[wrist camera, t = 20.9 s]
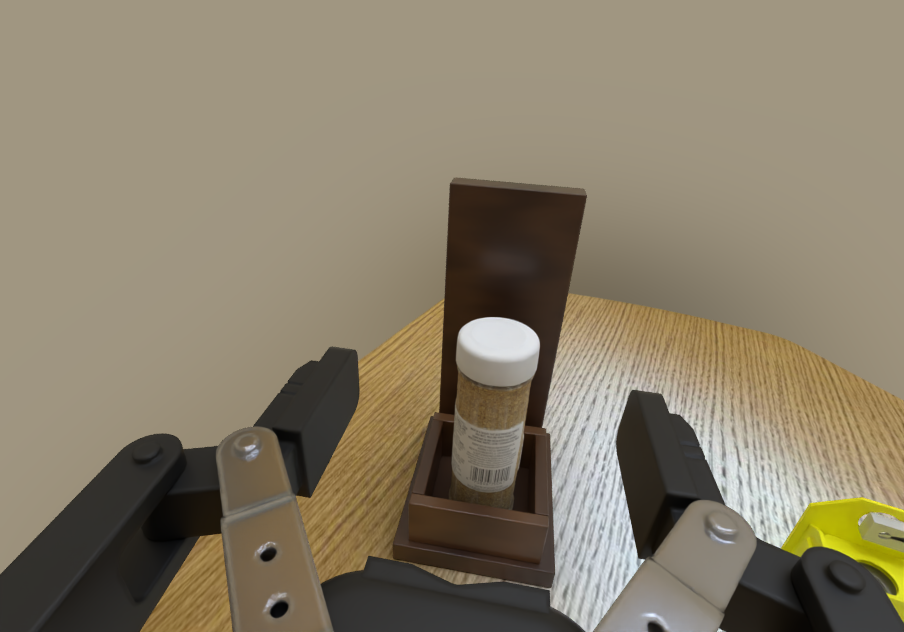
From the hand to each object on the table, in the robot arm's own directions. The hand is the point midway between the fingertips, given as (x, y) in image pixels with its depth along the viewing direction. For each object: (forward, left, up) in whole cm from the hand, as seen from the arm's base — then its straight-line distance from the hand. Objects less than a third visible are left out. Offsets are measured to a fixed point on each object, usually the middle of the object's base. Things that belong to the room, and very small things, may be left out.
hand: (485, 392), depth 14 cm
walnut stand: (0, +13, -19) cm, 23 cm away
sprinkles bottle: (0, +11, -18) cm, 21 cm away
